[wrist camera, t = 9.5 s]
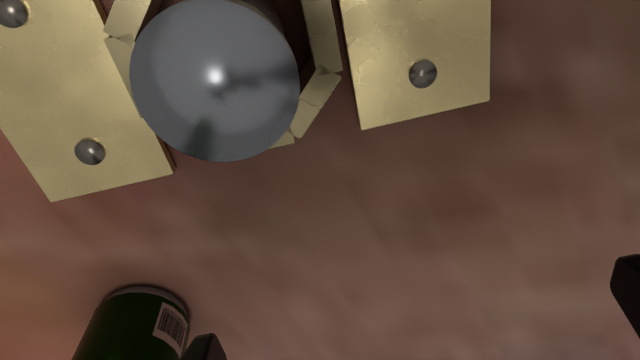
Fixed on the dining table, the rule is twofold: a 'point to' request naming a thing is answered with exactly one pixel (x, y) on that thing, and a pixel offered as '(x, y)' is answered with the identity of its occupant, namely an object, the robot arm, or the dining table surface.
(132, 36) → the octagon ring with plates
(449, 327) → the dining table surface
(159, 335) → the beer can
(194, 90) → the steel pin
